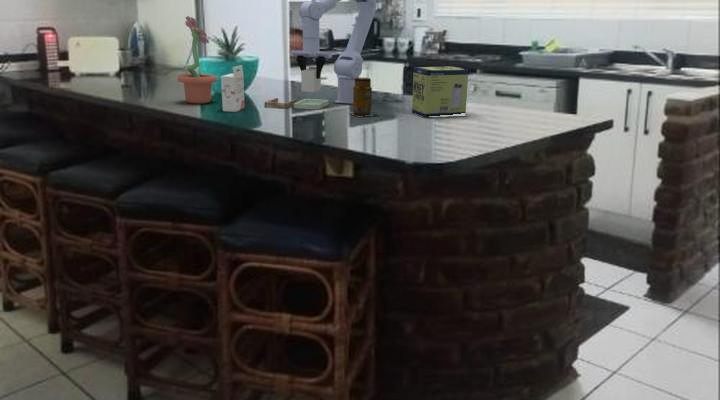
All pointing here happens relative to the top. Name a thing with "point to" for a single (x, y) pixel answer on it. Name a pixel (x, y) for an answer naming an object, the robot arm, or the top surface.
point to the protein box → (439, 91)
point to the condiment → (362, 97)
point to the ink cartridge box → (233, 90)
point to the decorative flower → (195, 83)
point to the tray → (311, 104)
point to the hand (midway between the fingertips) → (311, 78)
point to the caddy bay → (275, 104)
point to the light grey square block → (310, 80)
